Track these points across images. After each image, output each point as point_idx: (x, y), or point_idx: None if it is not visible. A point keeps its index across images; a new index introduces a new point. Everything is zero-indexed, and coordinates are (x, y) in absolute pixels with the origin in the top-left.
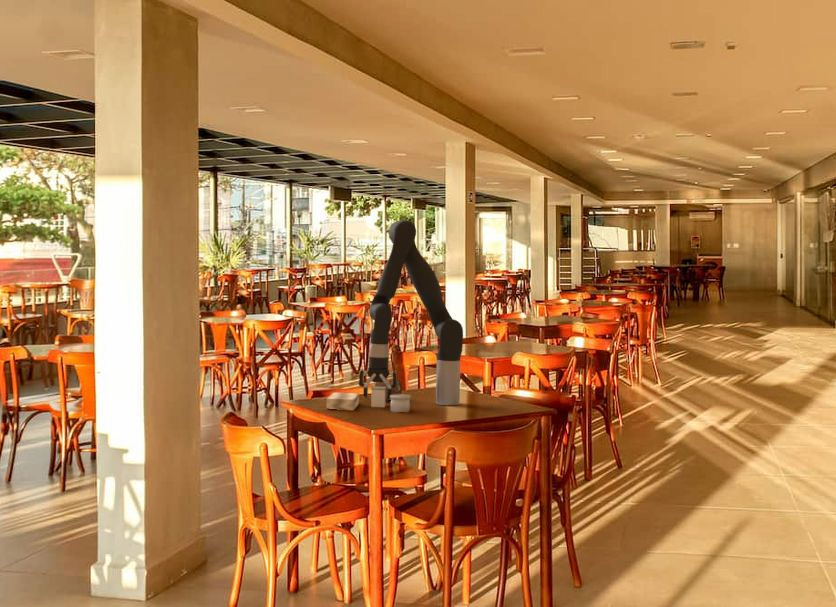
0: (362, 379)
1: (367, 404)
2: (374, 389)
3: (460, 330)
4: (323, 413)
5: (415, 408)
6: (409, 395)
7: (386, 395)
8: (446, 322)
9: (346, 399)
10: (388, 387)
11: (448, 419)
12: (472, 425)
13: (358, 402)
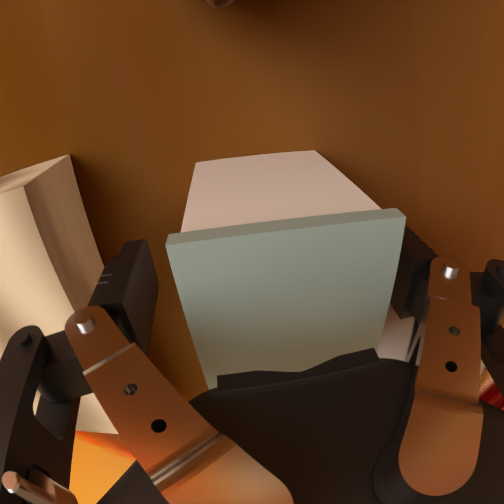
0: (71, 453)
1: (147, 160)
2: None
3: None
4: (94, 433)
5: (483, 233)
6: (480, 370)
7: None
8: None
9: (116, 433)
10: (415, 333)
11: (489, 377)
12: (496, 398)
13: (69, 179)
